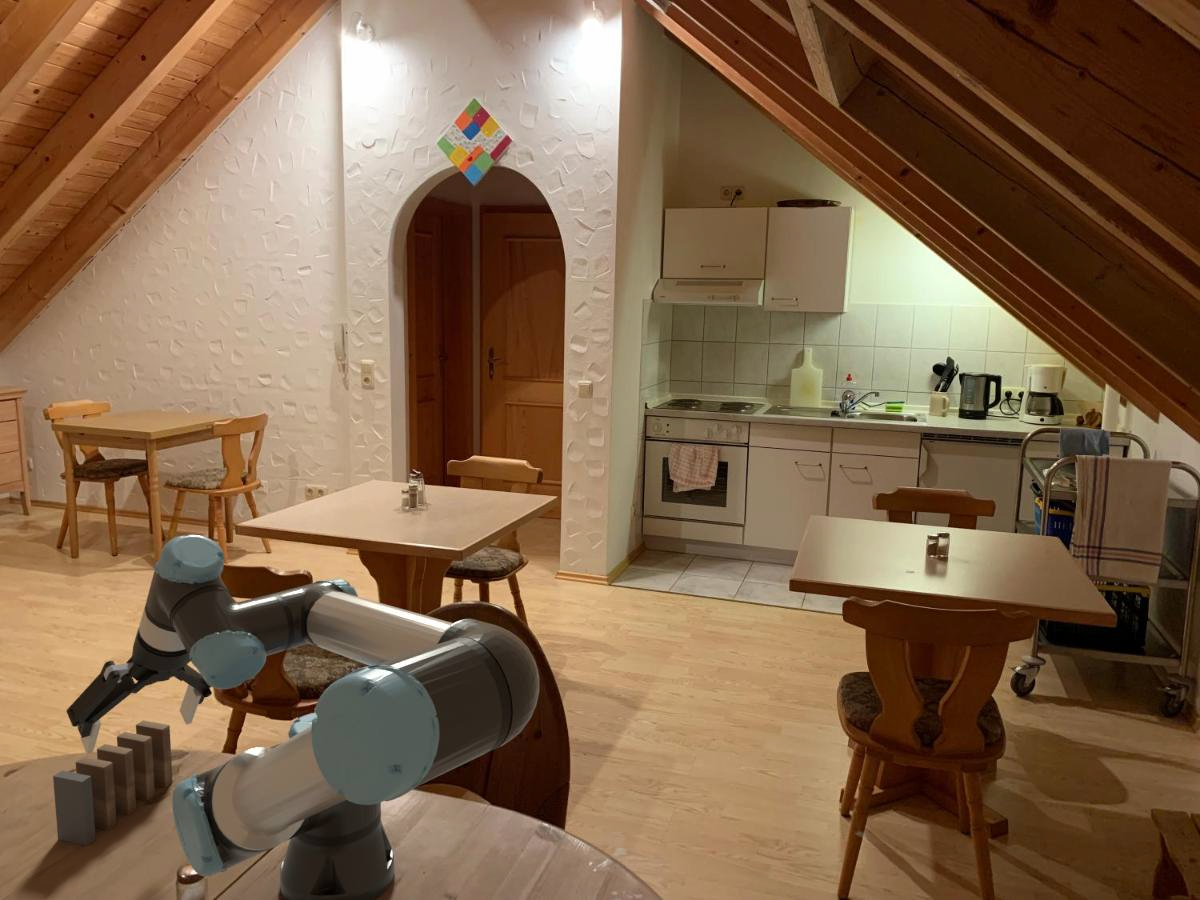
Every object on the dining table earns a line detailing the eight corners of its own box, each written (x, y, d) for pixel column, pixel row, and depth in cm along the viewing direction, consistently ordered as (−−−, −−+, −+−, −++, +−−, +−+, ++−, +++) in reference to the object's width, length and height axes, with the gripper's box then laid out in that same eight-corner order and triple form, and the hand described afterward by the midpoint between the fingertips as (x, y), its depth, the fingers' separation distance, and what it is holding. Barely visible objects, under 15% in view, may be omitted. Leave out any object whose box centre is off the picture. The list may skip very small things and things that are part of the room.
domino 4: (128, 790, 144) (124, 731, 142) (154, 795, 143) (151, 736, 141) (120, 795, 142) (116, 736, 140) (147, 800, 141) (144, 741, 139)
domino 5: (146, 777, 148) (143, 720, 146) (172, 782, 146) (169, 725, 145) (139, 782, 146) (135, 724, 144) (165, 787, 145) (162, 729, 143)
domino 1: (67, 833, 132) (62, 770, 131) (95, 839, 131) (91, 776, 129) (58, 839, 131) (53, 776, 129) (86, 845, 130) (82, 781, 128)
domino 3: (108, 803, 140) (104, 743, 138) (136, 809, 139) (132, 749, 137) (100, 809, 138) (96, 749, 137) (128, 815, 137) (124, 754, 135)
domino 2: (88, 818, 136) (84, 756, 134) (116, 823, 135) (112, 762, 133) (80, 823, 135) (75, 762, 133) (108, 830, 133) (104, 767, 132)
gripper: (246, 593, 132) (212, 687, 142) (55, 632, 113) (32, 737, 123) (269, 631, 128) (232, 725, 138) (75, 678, 109) (49, 782, 119)
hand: (137, 731), depth 130 cm, fingers open, 13 cm apart
